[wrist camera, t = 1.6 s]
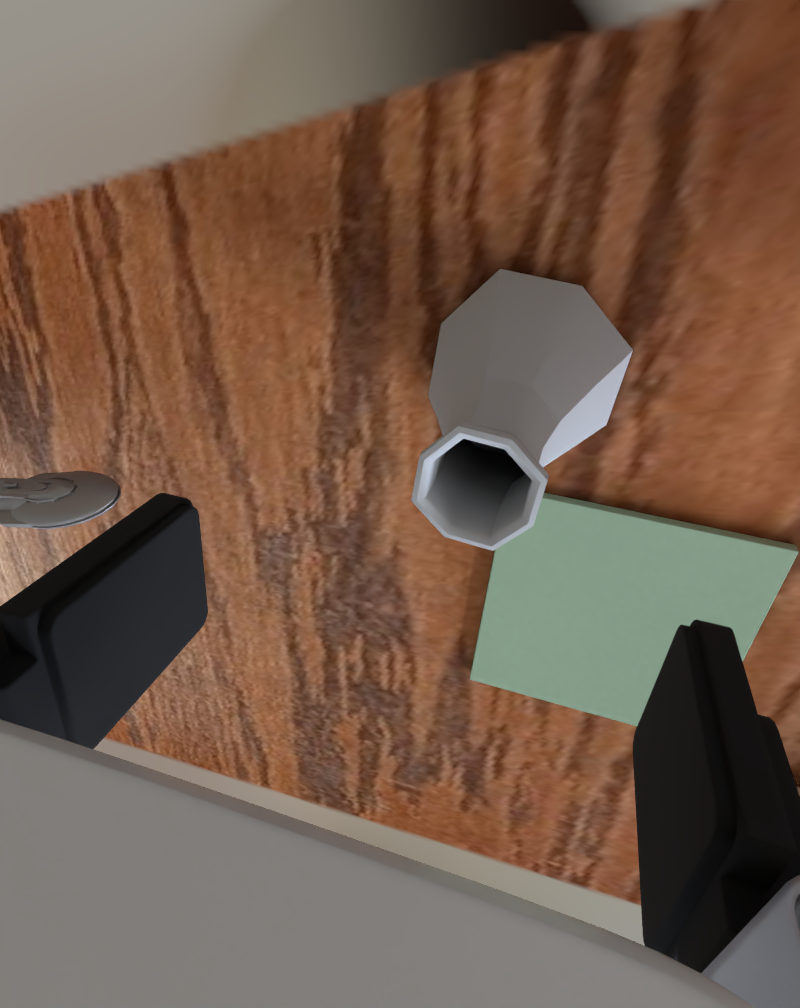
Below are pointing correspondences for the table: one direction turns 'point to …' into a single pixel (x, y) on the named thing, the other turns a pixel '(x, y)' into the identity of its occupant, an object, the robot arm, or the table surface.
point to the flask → (513, 402)
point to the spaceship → (56, 499)
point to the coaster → (614, 601)
